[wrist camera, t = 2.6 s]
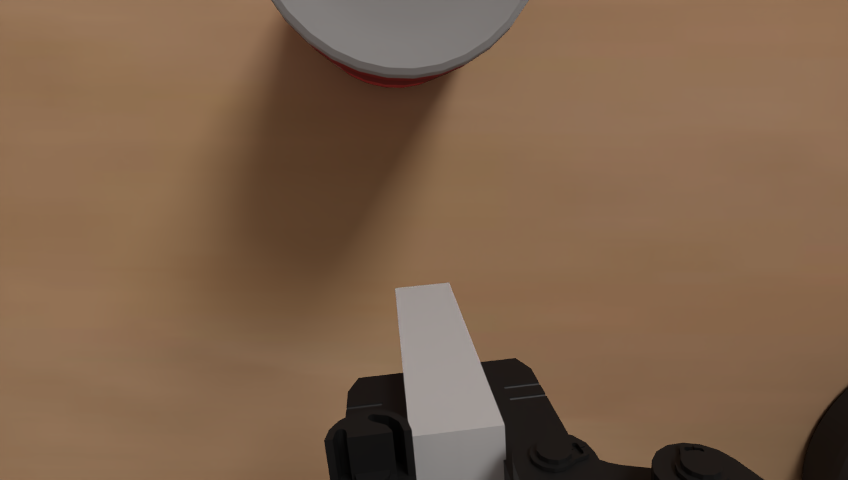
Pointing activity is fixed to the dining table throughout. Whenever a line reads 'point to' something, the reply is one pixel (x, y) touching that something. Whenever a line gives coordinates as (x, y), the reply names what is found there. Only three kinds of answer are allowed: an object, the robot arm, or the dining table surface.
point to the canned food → (400, 34)
